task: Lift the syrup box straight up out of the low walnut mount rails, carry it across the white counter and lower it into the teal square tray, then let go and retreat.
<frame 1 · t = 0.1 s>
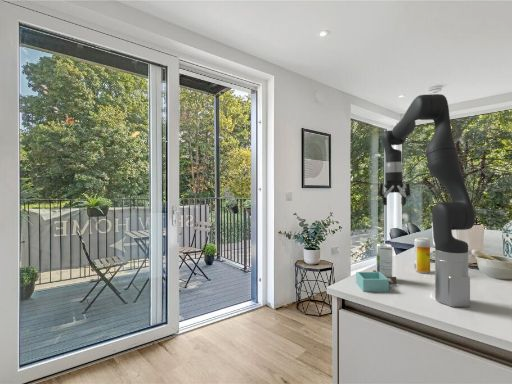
hand: (394, 205, 141), 29 cm above the worktop, fingers open, 8 cm apart
glass of beer: (422, 272, 129), on the worktop
mount rails: (384, 279, 120), on the worktop
teal square tray: (371, 287, 112), on the worktop
syrup box: (384, 280, 120), on the worktop
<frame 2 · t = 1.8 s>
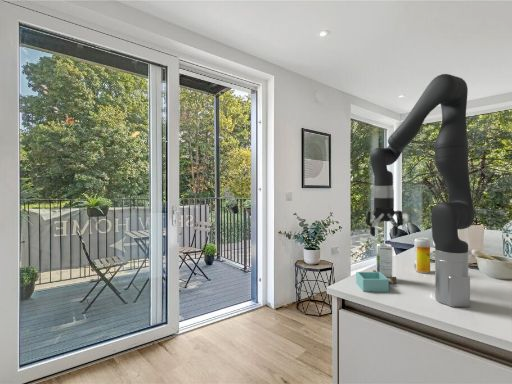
hand: (383, 235, 119), 18 cm above the worktop, fingers open, 8 cm apart
nothing on the worktop moved.
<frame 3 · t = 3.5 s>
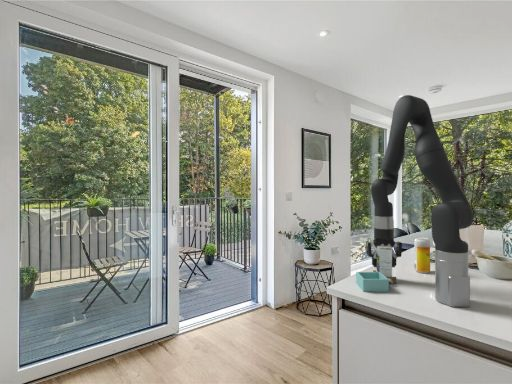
hand: (384, 266, 120), 5 cm above the worktop, fingers closed on syrup box, 6 cm apart
syrup box: (384, 280, 120), on the worktop, touching gripper
everything else where it was.
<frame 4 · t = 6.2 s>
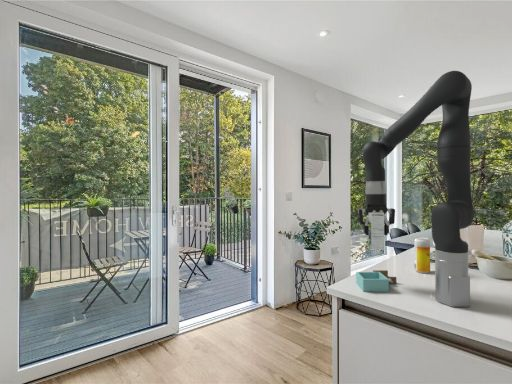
hand: (376, 234, 114), 20 cm above the worktop, fingers closed on syrup box, 6 cm apart
syrup box: (376, 248, 114), point 14 cm above the worktop, touching gripper
everything else where it was.
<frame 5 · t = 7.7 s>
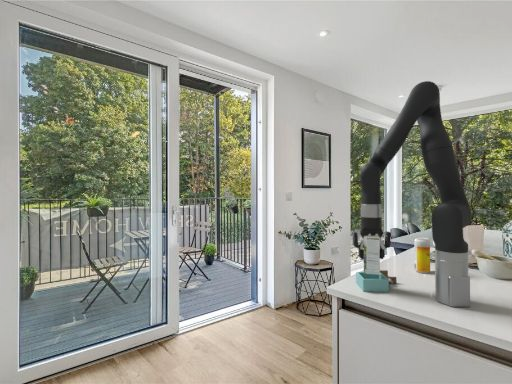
hand: (371, 258, 111), 11 cm above the worktop, fingers closed on syrup box, 6 cm apart
syrup box: (371, 272, 111), point 6 cm above the worktop, touching gripper
everything else where it was.
when the fingers open (7 cm above the worktop, at t = 9.1 s): syrup box drops 1 cm, resting on teal square tray.
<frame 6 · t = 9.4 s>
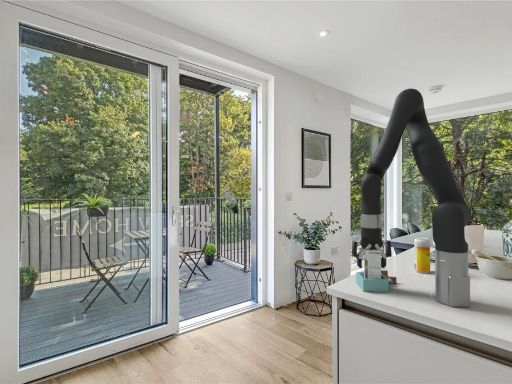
hand: (371, 267, 111), 7 cm above the worktop, fingers open, 8 cm apart
syrup box: (372, 286, 111), resting on teal square tray
everything else where it was.
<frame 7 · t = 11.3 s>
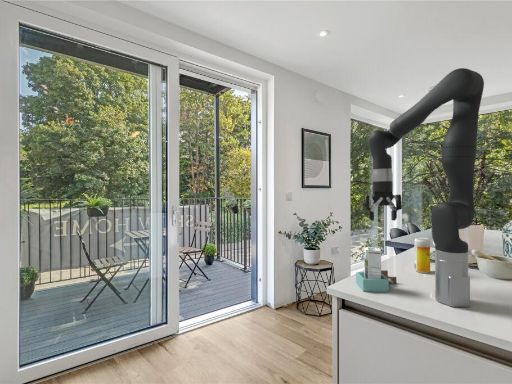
hand: (382, 220, 117), 25 cm above the worktop, fingers open, 8 cm apart
nothing on the worktop moved.
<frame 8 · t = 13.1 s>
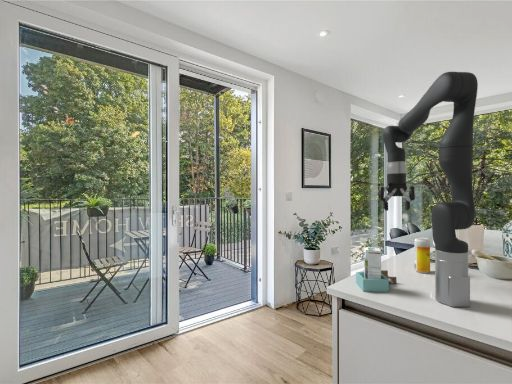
hand: (396, 210, 124), 28 cm above the worktop, fingers open, 8 cm apart
nothing on the worktop moved.
at the end: syrup box 0.3 cm off-centre on the teal square tray, point 0.2 cm above the teal square tray's base; syrup box tilted 0°; the gripper is holding nothing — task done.
